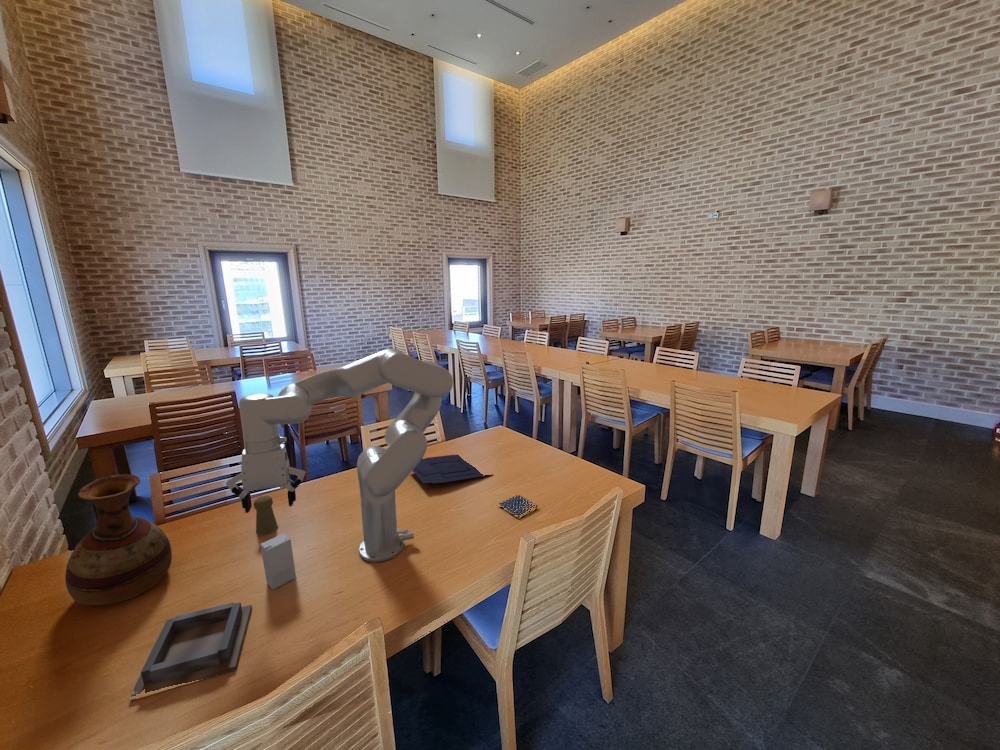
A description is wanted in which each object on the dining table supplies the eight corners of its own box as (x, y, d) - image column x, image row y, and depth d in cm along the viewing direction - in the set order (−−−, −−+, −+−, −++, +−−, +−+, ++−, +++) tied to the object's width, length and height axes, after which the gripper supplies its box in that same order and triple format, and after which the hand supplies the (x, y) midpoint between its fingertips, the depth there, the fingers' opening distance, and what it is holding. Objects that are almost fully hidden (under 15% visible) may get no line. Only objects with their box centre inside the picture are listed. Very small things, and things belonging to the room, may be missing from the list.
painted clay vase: (86, 629, 90) (53, 511, 83) (61, 593, 100) (30, 485, 94) (188, 577, 106) (168, 474, 99) (157, 550, 117) (137, 455, 110)
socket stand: (251, 608, 96) (249, 594, 95) (235, 670, 81) (233, 654, 80) (165, 629, 90) (161, 615, 89) (130, 701, 75) (125, 684, 74)
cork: (268, 536, 123) (263, 504, 121) (251, 533, 125) (246, 502, 122) (282, 524, 129) (278, 494, 127) (266, 522, 130) (261, 492, 128)
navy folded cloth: (402, 467, 167) (403, 458, 167) (466, 459, 184) (466, 451, 183) (424, 492, 147) (425, 483, 147) (493, 481, 164) (494, 472, 163)
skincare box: (289, 570, 109) (284, 531, 106) (297, 578, 106) (291, 538, 103) (265, 583, 104) (259, 542, 102) (272, 591, 101) (266, 550, 99)
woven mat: (518, 521, 133) (518, 516, 132) (497, 508, 141) (497, 503, 140) (539, 510, 140) (539, 505, 139) (518, 498, 147) (518, 493, 147)
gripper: (303, 434, 104) (309, 494, 108) (226, 442, 98) (235, 504, 102) (299, 445, 97) (306, 508, 101) (216, 454, 91) (226, 520, 95)
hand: (270, 506), depth 101 cm, fingers open, 9 cm apart
